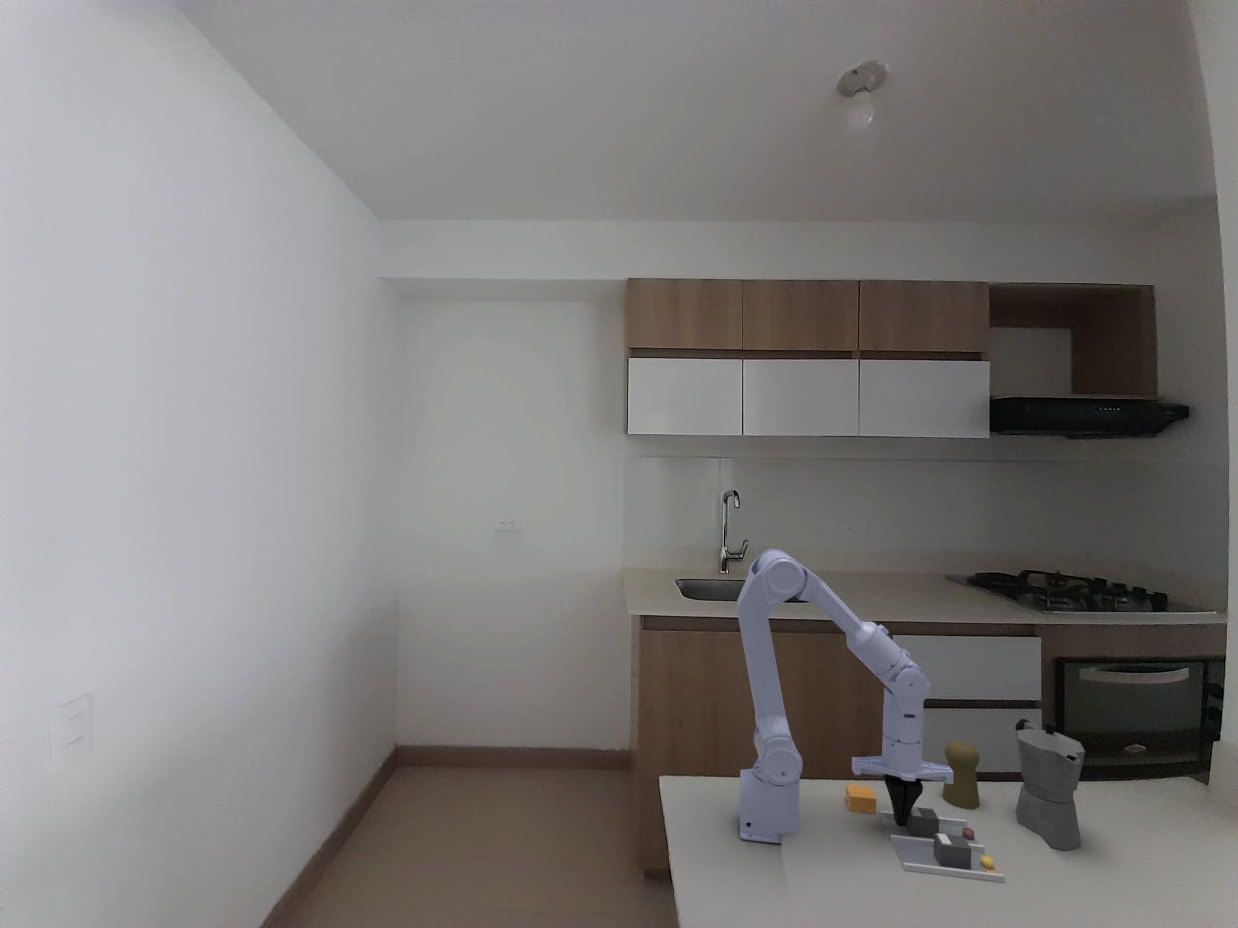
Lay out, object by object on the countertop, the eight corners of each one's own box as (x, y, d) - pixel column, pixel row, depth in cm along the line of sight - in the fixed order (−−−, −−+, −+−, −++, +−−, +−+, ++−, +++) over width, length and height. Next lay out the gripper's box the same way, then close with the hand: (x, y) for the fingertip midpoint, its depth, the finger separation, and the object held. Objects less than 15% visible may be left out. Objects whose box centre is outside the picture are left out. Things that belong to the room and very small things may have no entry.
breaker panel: (903, 880, 89) (904, 862, 89) (879, 824, 103) (880, 809, 103) (1004, 893, 87) (1004, 874, 87) (965, 834, 101) (966, 818, 101)
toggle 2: (940, 865, 90) (941, 843, 90) (933, 853, 93) (934, 831, 93) (970, 869, 89) (971, 847, 89) (962, 856, 92) (963, 835, 92)
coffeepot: (1106, 861, 95) (1109, 741, 95) (1040, 857, 95) (1044, 738, 95) (1043, 805, 110) (1047, 702, 110) (987, 802, 111) (990, 699, 111)
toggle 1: (910, 835, 97) (911, 815, 97) (905, 824, 100) (905, 804, 100) (938, 838, 97) (939, 818, 97) (932, 827, 100) (932, 807, 100)
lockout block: (850, 820, 104) (850, 796, 104) (845, 807, 108) (845, 784, 108) (875, 823, 103) (876, 798, 103) (869, 810, 107) (870, 786, 107)
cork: (986, 820, 105) (988, 754, 105) (946, 815, 106) (948, 750, 106) (973, 801, 111) (975, 739, 111) (936, 797, 112) (937, 735, 112)
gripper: (859, 742, 96) (857, 831, 96) (961, 752, 94) (959, 843, 94) (850, 723, 103) (847, 806, 103) (945, 732, 101) (943, 817, 101)
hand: (900, 822), depth 99 cm, fingers closed
